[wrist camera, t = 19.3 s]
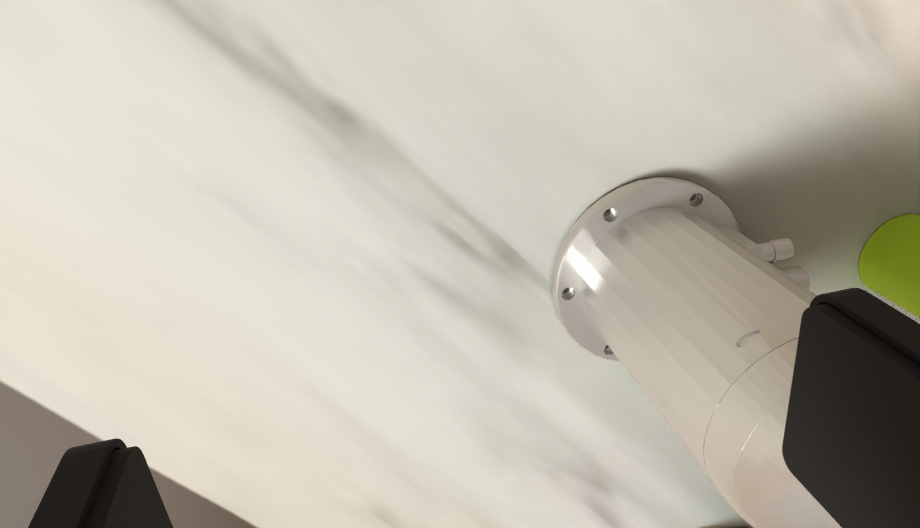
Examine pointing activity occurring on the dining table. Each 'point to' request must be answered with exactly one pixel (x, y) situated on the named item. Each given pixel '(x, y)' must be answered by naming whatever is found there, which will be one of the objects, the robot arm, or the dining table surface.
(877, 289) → the soap dispenser
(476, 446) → the dining table surface
